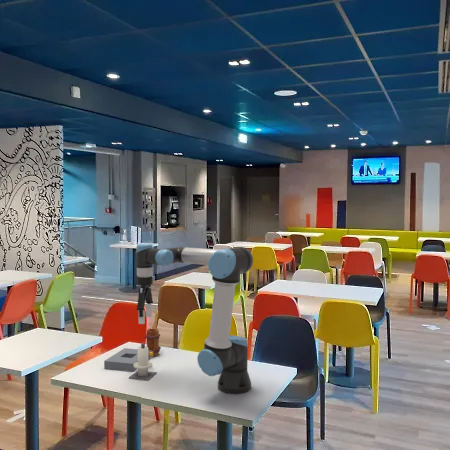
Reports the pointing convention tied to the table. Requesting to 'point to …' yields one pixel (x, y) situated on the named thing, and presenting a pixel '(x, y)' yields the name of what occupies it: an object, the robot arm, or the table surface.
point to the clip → (150, 354)
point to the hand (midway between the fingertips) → (145, 320)
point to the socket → (123, 360)
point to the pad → (148, 377)
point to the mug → (153, 340)
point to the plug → (142, 361)
